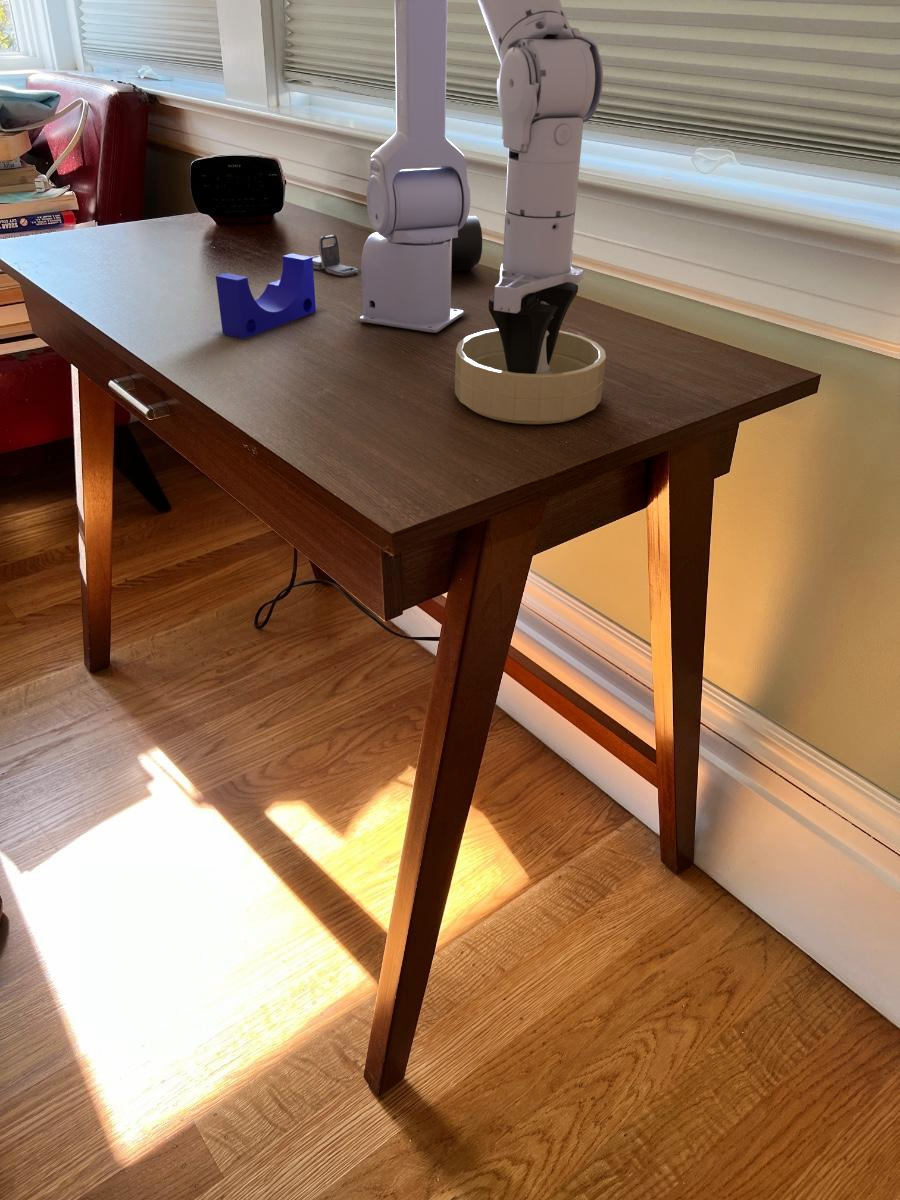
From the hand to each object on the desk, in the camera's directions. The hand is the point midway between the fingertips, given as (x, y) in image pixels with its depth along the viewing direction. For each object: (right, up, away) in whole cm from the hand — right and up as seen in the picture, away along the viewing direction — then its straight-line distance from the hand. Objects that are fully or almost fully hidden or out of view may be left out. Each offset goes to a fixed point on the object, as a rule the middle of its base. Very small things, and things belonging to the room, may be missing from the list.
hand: (529, 372), depth 81 cm
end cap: (-9, +23, +39) cm, 46 cm away
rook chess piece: (0, -2, +1) cm, 2 cm away
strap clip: (-23, +23, +39) cm, 51 cm away
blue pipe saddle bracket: (-28, +10, +19) cm, 35 cm away
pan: (0, -2, +1) cm, 2 cm away
